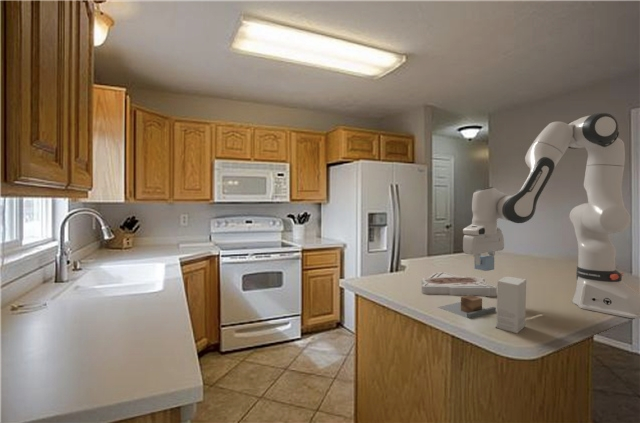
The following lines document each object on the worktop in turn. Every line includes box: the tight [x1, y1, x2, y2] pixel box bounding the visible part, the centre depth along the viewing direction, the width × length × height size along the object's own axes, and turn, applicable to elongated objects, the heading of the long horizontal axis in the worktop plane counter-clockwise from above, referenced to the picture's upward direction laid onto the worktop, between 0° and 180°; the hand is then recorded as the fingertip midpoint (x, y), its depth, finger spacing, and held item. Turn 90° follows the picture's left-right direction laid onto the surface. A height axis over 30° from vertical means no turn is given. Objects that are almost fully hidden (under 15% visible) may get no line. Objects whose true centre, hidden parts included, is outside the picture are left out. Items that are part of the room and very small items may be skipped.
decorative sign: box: [421, 271, 497, 297], centre depth 159 cm, size 32×4×30 cm
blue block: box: [474, 254, 495, 272], centre depth 134 cm, size 5×5×5 cm
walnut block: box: [460, 295, 483, 313], centre depth 123 cm, size 5×5×5 cm
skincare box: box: [496, 276, 527, 334], centre depth 109 cm, size 8×7×16 cm
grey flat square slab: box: [437, 301, 497, 319], centre depth 126 cm, size 14×14×2 cm
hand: (484, 263), depth 134 cm, fingers closed on blue block, 5 cm apart
